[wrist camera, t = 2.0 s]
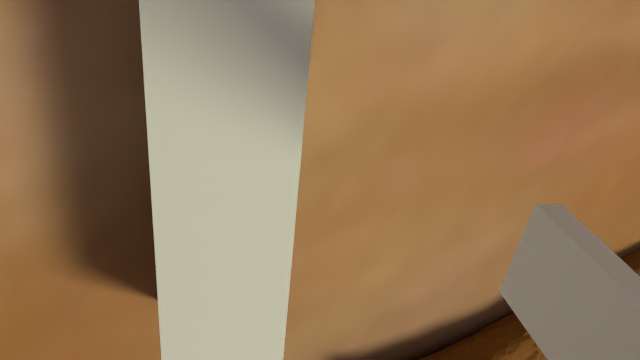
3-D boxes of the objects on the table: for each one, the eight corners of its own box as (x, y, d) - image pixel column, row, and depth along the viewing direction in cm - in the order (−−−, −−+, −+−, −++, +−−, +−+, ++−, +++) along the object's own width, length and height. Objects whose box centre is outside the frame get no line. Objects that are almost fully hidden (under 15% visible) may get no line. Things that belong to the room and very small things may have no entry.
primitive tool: (718, 200, 26) (788, 244, 23) (712, 278, 29) (773, 327, 26) (343, 361, 26) (363, 427, 23) (375, 423, 29) (397, 488, 26)
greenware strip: (267, 290, 22) (282, 367, 19) (166, 298, 22) (162, 379, 18) (296, -170, 15) (330, -179, 11) (139, -190, 14) (125, -206, 10)
